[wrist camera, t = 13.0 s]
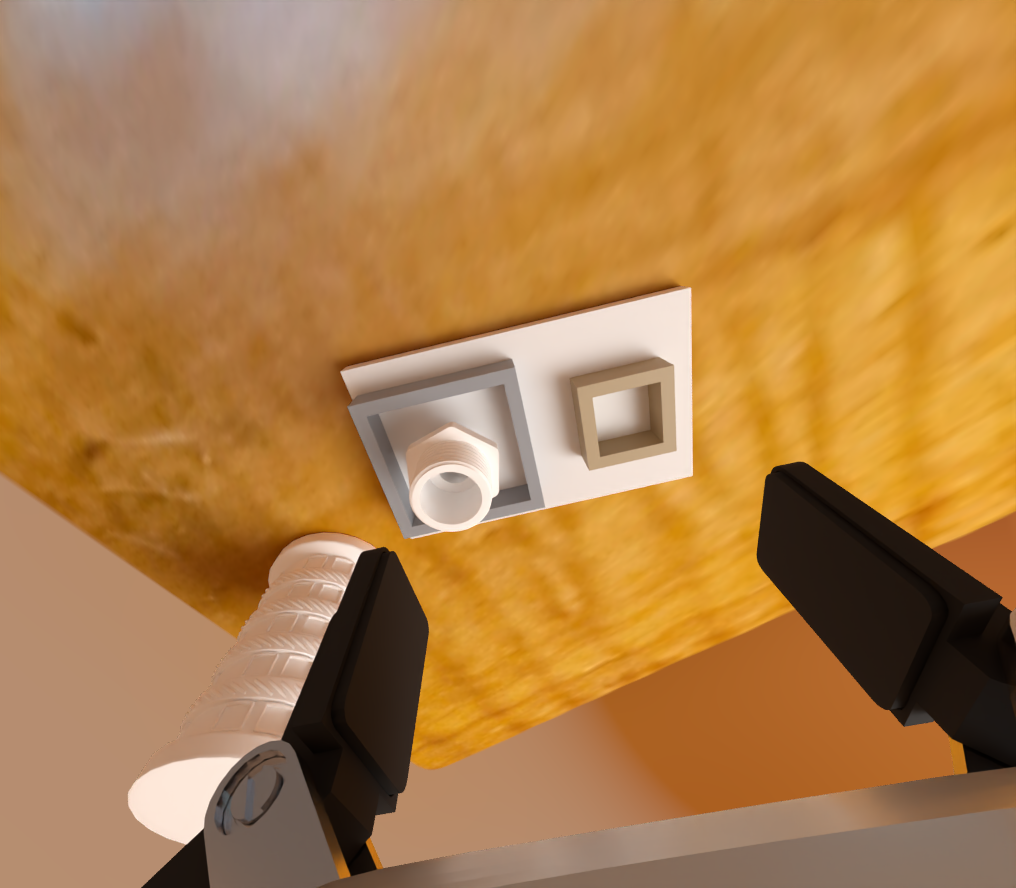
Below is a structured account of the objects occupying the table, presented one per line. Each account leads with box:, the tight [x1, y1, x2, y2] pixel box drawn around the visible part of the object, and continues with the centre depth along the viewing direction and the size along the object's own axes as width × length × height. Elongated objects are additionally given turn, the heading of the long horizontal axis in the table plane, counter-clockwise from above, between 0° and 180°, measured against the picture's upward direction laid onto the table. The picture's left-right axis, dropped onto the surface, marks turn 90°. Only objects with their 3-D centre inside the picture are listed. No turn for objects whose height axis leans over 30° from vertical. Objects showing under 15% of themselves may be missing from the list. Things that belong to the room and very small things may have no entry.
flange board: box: [340, 286, 693, 539], centre depth 31 cm, size 16×26×4 cm, turn 102°
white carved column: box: [128, 532, 376, 845], centre depth 31 cm, size 12×12×18 cm
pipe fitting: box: [406, 422, 499, 532], centre depth 28 cm, size 6×7×8 cm
